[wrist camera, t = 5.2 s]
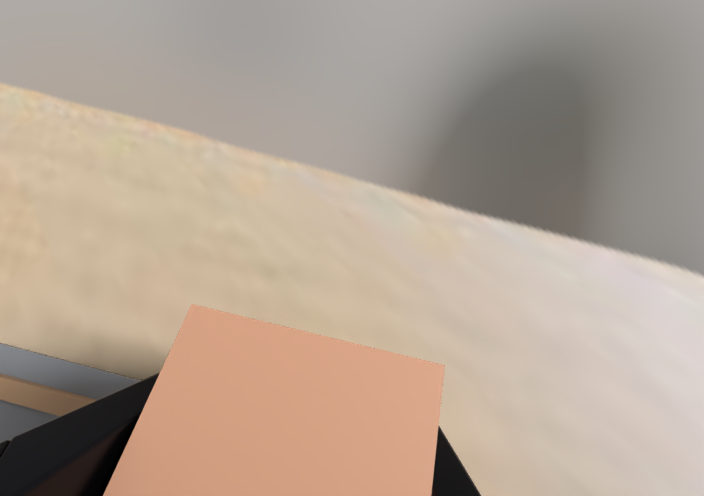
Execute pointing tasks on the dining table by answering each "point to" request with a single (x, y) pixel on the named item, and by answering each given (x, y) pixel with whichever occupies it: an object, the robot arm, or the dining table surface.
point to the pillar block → (281, 416)
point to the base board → (47, 388)
